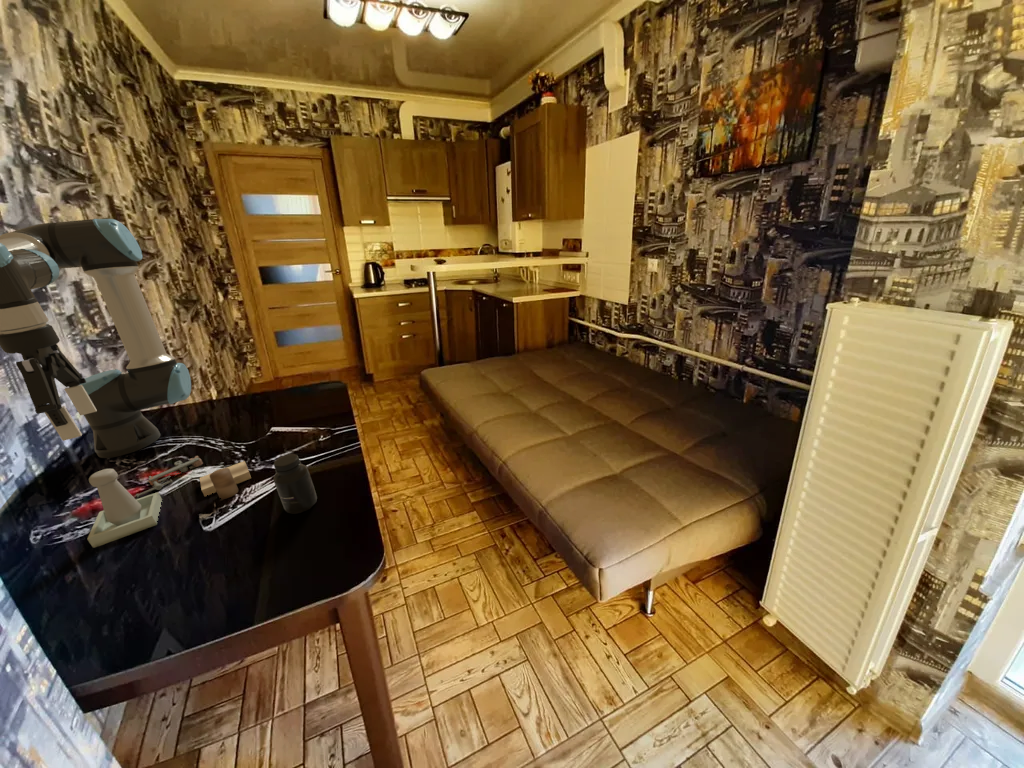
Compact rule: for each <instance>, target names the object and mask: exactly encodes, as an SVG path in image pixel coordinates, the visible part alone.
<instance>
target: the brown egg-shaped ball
mask: <svg viewBox="0 0 1024 768" xmlns="http://www.w3.org/2000/svg"><path fill="white" fill-rule="evenodd" d="M209 474H210V479H211V481H212V483H213V485H214V487H215V489H216V491H217V492H216V493H217V495H218V498H219V499H220V498H221V499H222V500H224V499H229V498H231V497H233V496H235V495H236V494H238V492H239V488H238V484H236V483H235V481H234V478H233V476H232V474H231V472H230V469H229V468H227V467H222V468H219V469H217V470H214V471H213V472H211V473H209Z"/></svg>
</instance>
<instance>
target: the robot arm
mask: <svg viewBox="0 0 1024 768" xmlns="http://www.w3.org/2000/svg"><path fill="white" fill-rule="evenodd" d="M141 260H143V252H142V249H141V246H140V245H139V242H138V240H137V239H136V238H135V236H134V235H133V234H132V232H131V231H130V230H129V229H128V227H127V226H125V224H123V223H122V222H120V221H119V220H117V219H114V218H92V219H91V218H90V219H80V220H69V221H58V222H44V223H40V224H34V225H31V226H27V227H24V228H20V229H16V230H13V231H10V232H6V233H3V234H0V348H1V349H2V350H3V352H4V353H5V354H19V355H21V357H22V359H23V360H20V361H16V362H15V365H16V367H17V369H18V370H19V373H21V376H22V379H23V381H24V384H25V386H26V388H27V392H28V395H29V397H30V399H31V402H32V404H33V407H34V409H35V410H34V411H35V413H36V414H37V415H39V414H40V415H41V414H45V415H46V417H47V419H48V420H49V422H50V423H51V425H52V427H54V429H55V432H56V433H57V434H58V435H59V437H60V438H61V440H62V441H63V442H65V441H68V440H71V439H75V438H79V437H82V435H83V433H82V432H81V430H80V429H79V427H78V425H77V424H76V422H75V420H74V418H73V417H72V416H71V414H70V412H69V411H68V409H67V407H66V406H65V405H63V406H62V403H61V399H60V395H59V392H58V388H57V383H56V380H57V381H58V382H59V383H60V384H62V385H63V386H64V387H65V388H64V391H65V393H66V394H67V396H68V398H69V400H70V401H71V404H73V407H74V408H75V410H77V412H78V414H79V416H83V417H84V418H85V420H86V422H87V424H89V426H90V428H91V431H92V432H93V433H92V435H93V446H94V452H95V453H96V455H97V456H98V457H99V458H100V459H110V458H116V457H117V458H118V457H121V456H124V455H129V454H131V453H134V452H137V451H140V450H142V449H144V448H146V447H148V446H150V445H152V444H153V443H155V442H156V441H158V439H160V438H161V433H160V431H159V428H157V426H155V425H154V424H153V423H152V422H151V421H150V420H149V419H147V418H146V417H145V416H144V415H143V413H142V411H143V410H147V409H152V408H156V407H160V406H165V405H173V404H175V403H179V402H182V401H185V400H187V399H188V398H189V397H190V395H191V392H192V379H191V375H190V371H189V369H188V368H187V366H186V364H184V363H182V362H178V361H177V359H176V357H175V356H173V355H171V354H168V353H167V351H166V348H165V346H164V344H163V341H162V339H161V336H160V333H159V332H158V329H157V326H156V324H155V321H154V319H153V316H152V315H151V312H150V310H149V307H148V305H147V301H146V299H145V297H144V295H143V292H142V290H141V289H142V288H141V287H140V285H139V281H138V279H137V278H136V273H137V272H138V270H139V269H140V267H139V264H138V262H140V261H141ZM72 268H82V271H83V273H84V274H85V275H88V276H90V277H91V278H93V279H94V280H95V282H96V285H97V288H98V289H99V292H100V294H101V297H102V299H103V301H104V303H105V306H106V308H107V311H108V313H109V314H110V317H111V320H112V322H113V324H114V326H115V329H116V332H117V333H118V336H119V338H120V340H121V342H122V345H123V347H124V349H125V351H126V355H127V356H128V359H129V363H128V365H126V367H125V368H126V371H127V373H122V371H121V370H120V369H109V370H106V371H103V372H99V373H96V374H93V375H90V376H88V377H85V378H84V377H83V376H82V374H81V373H80V372H79V371H78V369H76V368H75V366H74V365H73V364H72V362H70V360H69V359H68V358H67V357H66V356H65V354H64V353H63V352H62V351H61V349H60V348H59V345H58V343H60V337H59V336H58V334H57V332H56V330H55V329H54V327H53V326H52V325H51V324H49V318H48V316H47V314H46V313H45V311H44V310H43V308H42V306H41V304H40V303H39V302H38V300H37V298H36V296H35V294H34V293H33V291H32V290H35V289H39V288H41V289H42V288H46V287H48V286H50V285H51V284H53V283H55V282H56V281H57V280H58V278H59V276H60V269H72ZM47 323H48V324H47ZM141 410H142V411H141Z"/></svg>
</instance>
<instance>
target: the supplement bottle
mask: <svg viewBox="0 0 1024 768" xmlns="http://www.w3.org/2000/svg"><path fill="white" fill-rule="evenodd" d="M273 466H274V470H275V474H274V476H273V482H274V486H275V488H276V491H277V493H278V496H279V498H280V501H281V504H282V506H283V509H284V511H285V512H286V513H288V514H290V515H291V514H292V515H293V514H294V515H296V514H301V513H303V512H306V511H308V510H310V509H311V508H312V507H313V506H315V504H316V503H317V499H318V496H317V493H316V490H315V486H314V483H313V480H312V477H311V474H310V471H309V469H308V467H307V466H306V465H305V464H303V463H302V462H301V461H300V458H299V456H298V454H294V453H289V454H286V455H282V456H281V457H278V458H277V459H276V460H275V461H274V462H273Z"/></svg>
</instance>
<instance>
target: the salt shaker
mask: <svg viewBox="0 0 1024 768" xmlns="http://www.w3.org/2000/svg"><path fill="white" fill-rule="evenodd" d="M118 477H119V474H118V473H117V471H116V470H115V469H114V468H104V469H102V470H99V471H96V472H94V473H92V474H91V475H90V476H89V478H88V482H89V484H90V485H91V486H92V487H94V488H96V489H97V492H98V495H99V498H100V501H101V505H102V508H103V510H104V512H105V515H106V519H107V520H108V521H109V522H110V523H112V524H115V525H117V526H120V525H123V524H126V523H128V522H131V521H134V520H137V519H139V518H140V513H141V504H140V503H139V502H138V501H137V500H136V499H137V498H135V497H134V496H133V495H132V494H131V493H130V492H129V491H128V490H127V488H126V487H124V486H123V485H122V484H121V482H119V480H117V479H118Z"/></svg>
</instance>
